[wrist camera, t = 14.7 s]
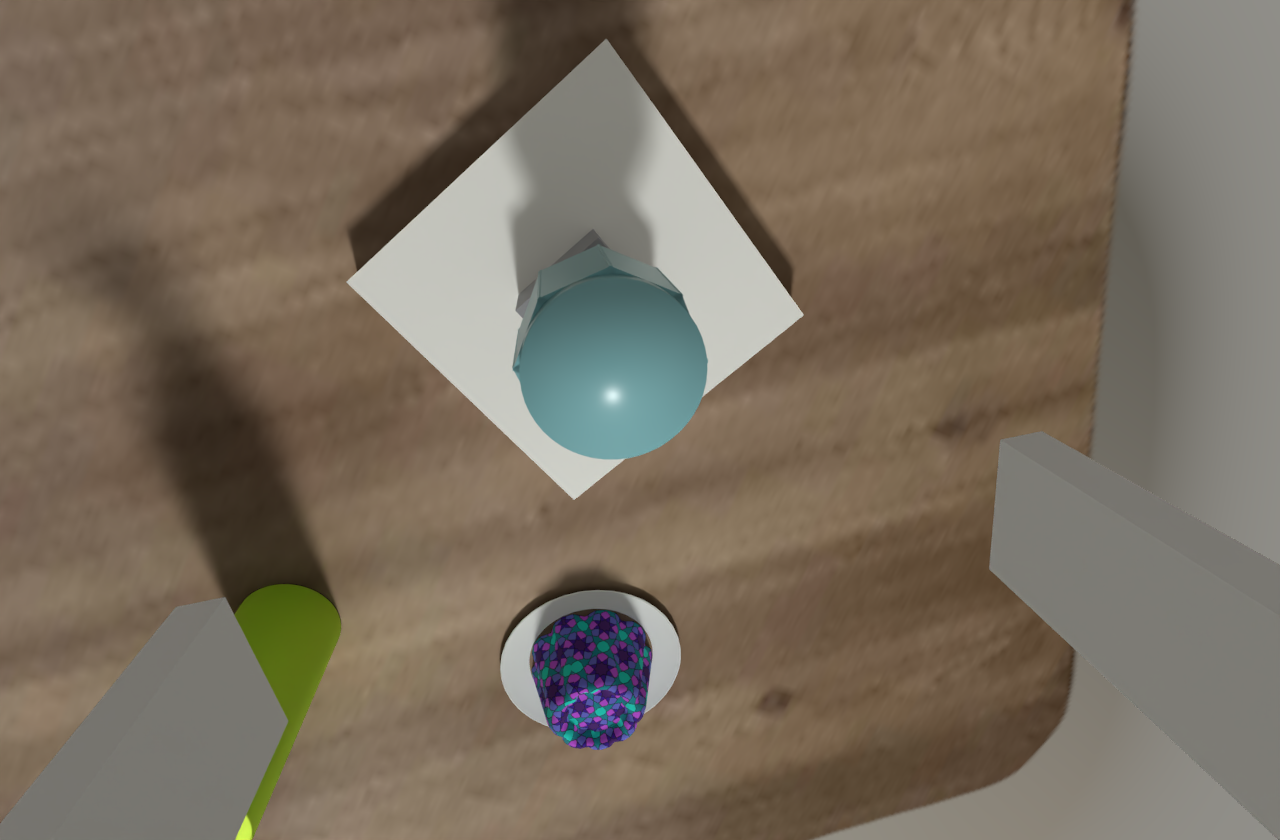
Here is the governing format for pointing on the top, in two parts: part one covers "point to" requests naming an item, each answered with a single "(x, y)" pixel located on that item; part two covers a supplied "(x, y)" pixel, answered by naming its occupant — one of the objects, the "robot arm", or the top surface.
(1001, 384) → the top surface
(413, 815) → the top surface
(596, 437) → the cap
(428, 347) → the post base
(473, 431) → the top surface
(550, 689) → the patterned brimmed hat
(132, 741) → the robot arm
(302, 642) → the soap dispenser
